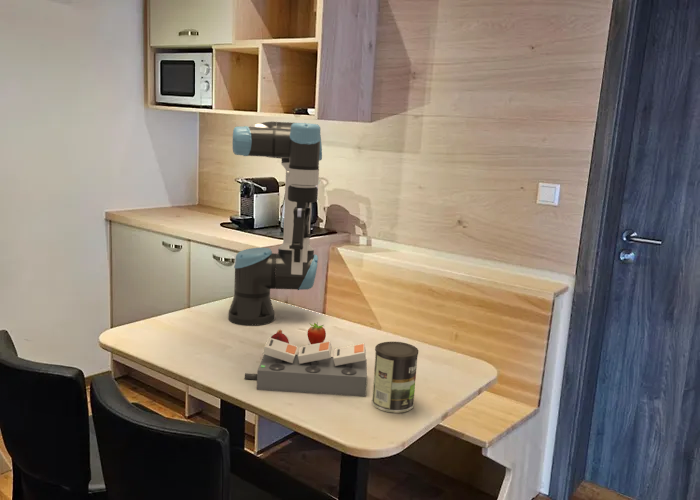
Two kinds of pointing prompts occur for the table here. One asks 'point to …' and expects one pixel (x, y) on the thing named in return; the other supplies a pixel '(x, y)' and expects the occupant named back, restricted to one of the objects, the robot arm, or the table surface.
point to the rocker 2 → (314, 352)
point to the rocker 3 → (349, 354)
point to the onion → (280, 336)
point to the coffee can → (394, 376)
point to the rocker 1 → (280, 350)
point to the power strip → (311, 376)
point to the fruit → (316, 334)
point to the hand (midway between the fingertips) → (299, 267)
